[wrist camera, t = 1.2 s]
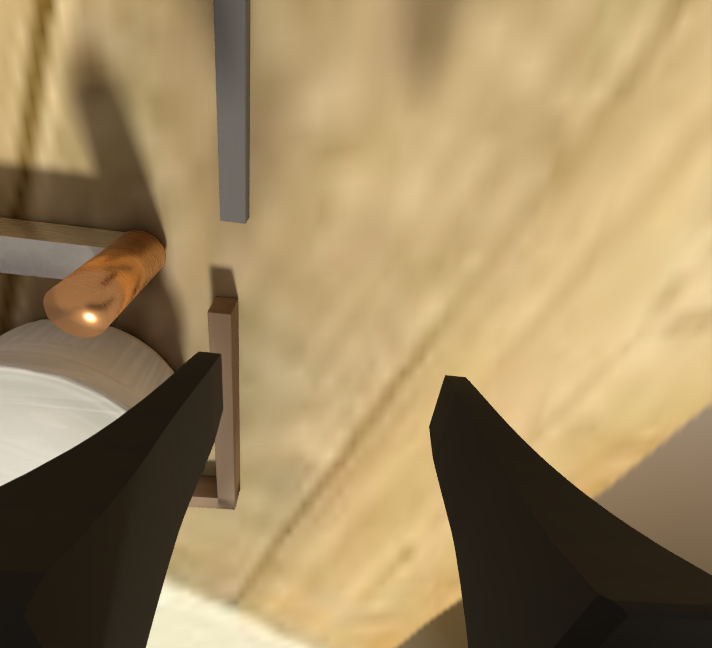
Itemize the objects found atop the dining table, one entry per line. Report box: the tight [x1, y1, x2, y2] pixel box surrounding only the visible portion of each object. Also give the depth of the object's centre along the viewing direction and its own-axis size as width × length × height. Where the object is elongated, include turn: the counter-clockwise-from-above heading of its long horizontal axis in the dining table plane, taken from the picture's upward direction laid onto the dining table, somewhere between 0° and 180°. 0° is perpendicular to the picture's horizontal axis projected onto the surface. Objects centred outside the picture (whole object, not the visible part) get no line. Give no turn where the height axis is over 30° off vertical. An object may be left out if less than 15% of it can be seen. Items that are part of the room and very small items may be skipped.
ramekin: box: [0, 319, 174, 486], centre depth 20 cm, size 11×11×5 cm
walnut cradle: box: [188, 297, 240, 510], centre depth 22 cm, size 15×14×2 cm
